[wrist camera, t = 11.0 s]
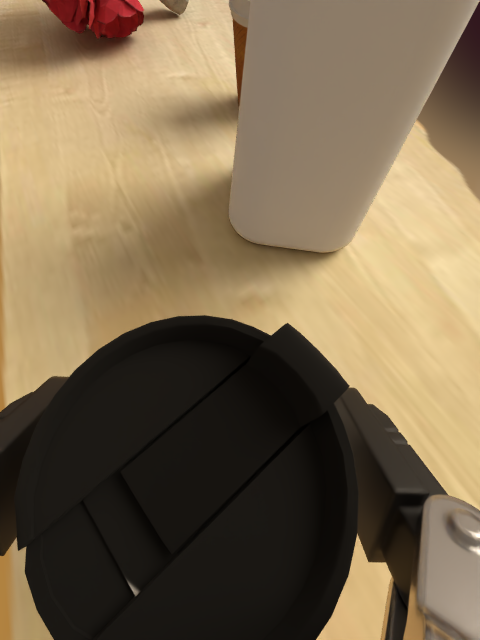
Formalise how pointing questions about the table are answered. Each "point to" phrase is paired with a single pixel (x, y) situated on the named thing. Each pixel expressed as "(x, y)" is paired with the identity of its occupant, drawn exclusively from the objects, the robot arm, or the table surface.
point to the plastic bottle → (330, 110)
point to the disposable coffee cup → (240, 36)
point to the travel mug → (191, 488)
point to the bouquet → (105, 15)
